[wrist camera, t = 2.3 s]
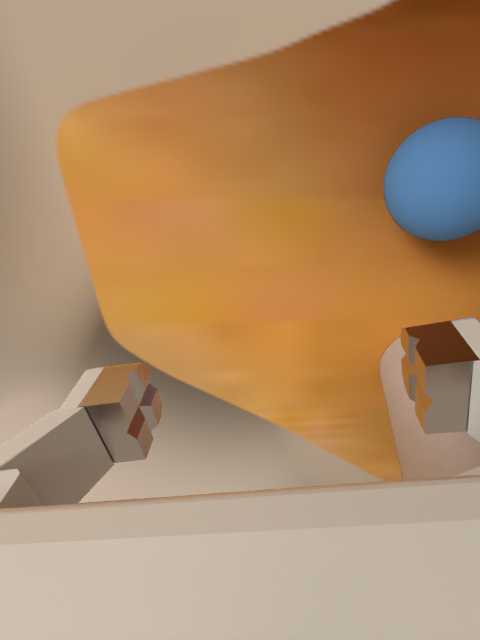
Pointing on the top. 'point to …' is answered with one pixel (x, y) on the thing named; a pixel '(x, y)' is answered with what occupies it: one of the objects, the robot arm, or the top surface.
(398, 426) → the coffee cup
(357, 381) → the top surface
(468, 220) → the ball
